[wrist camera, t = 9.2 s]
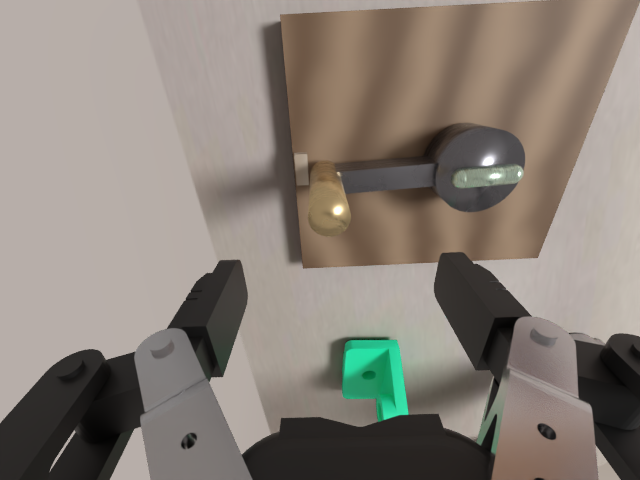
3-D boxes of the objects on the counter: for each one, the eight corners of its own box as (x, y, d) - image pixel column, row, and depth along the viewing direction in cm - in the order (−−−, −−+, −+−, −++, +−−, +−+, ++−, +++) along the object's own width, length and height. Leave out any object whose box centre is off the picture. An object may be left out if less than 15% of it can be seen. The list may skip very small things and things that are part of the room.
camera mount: (344, 334, 42) (352, 402, 33) (394, 334, 42) (416, 401, 33) (341, 383, 48) (346, 453, 39) (385, 383, 48) (401, 452, 39)
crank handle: (502, 119, 25) (613, 137, 16) (486, 192, 29) (569, 243, 19) (306, 137, 26) (301, 165, 16) (313, 207, 29) (313, 264, 20)
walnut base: (617, 2, 23) (653, -8, 21) (526, 249, 35) (542, 261, 32) (282, 20, 23) (279, 12, 21) (303, 259, 35) (302, 272, 32)
